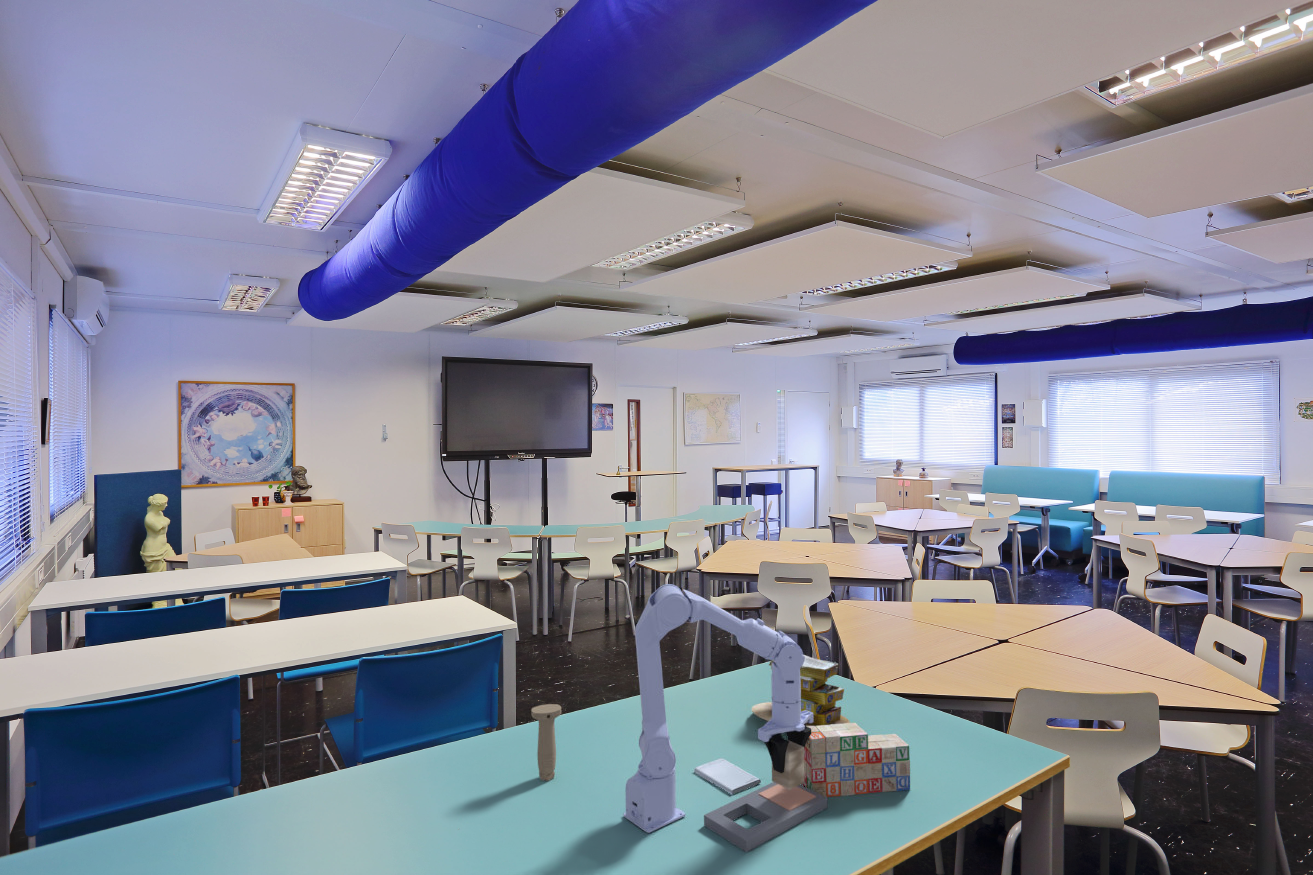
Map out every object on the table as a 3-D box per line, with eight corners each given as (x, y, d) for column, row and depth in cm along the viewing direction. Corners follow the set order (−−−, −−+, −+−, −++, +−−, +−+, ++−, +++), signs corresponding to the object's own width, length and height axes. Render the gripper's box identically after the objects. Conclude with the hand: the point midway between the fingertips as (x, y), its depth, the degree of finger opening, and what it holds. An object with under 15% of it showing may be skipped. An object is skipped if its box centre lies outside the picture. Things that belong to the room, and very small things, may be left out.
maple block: (789, 789, 133) (789, 753, 133) (771, 780, 136) (771, 745, 136) (804, 782, 135) (803, 746, 136) (786, 773, 139) (786, 739, 139)
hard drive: (760, 778, 145) (722, 756, 155) (731, 790, 140) (694, 766, 150) (760, 786, 145) (722, 764, 155) (731, 798, 140) (694, 774, 150)
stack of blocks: (896, 776, 148) (895, 719, 148) (910, 790, 142) (910, 731, 142) (801, 783, 145) (800, 725, 145) (811, 798, 139) (810, 737, 139)
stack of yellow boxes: (788, 697, 194) (787, 638, 194) (868, 722, 176) (867, 657, 176) (732, 722, 177) (731, 658, 177) (814, 753, 159) (813, 681, 159)
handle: (530, 775, 149) (529, 706, 150) (559, 770, 152) (558, 702, 152) (534, 785, 145) (533, 714, 145) (563, 780, 147) (563, 710, 147)
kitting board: (746, 852, 121) (746, 839, 121) (704, 825, 129) (703, 813, 129) (827, 807, 135) (827, 796, 135) (784, 786, 144) (784, 775, 144)
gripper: (777, 713, 128) (778, 786, 128) (825, 695, 138) (826, 762, 137) (749, 703, 134) (750, 772, 134) (797, 685, 143) (798, 750, 143)
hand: (787, 766), depth 136 cm, fingers closed on maple block, 4 cm apart
